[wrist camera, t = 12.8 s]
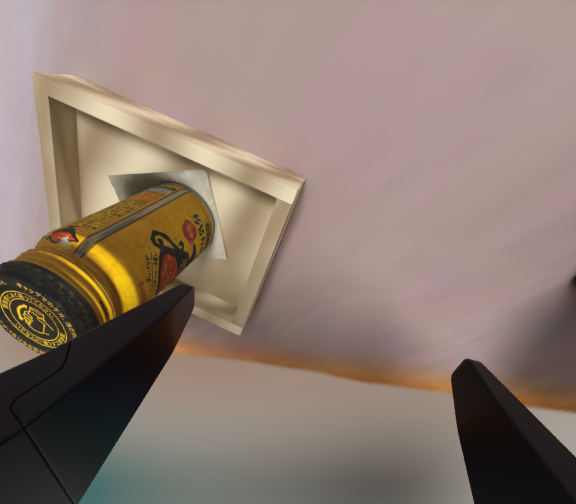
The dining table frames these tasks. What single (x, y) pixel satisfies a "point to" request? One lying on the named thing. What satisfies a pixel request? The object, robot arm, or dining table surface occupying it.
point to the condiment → (110, 258)
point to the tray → (162, 158)
